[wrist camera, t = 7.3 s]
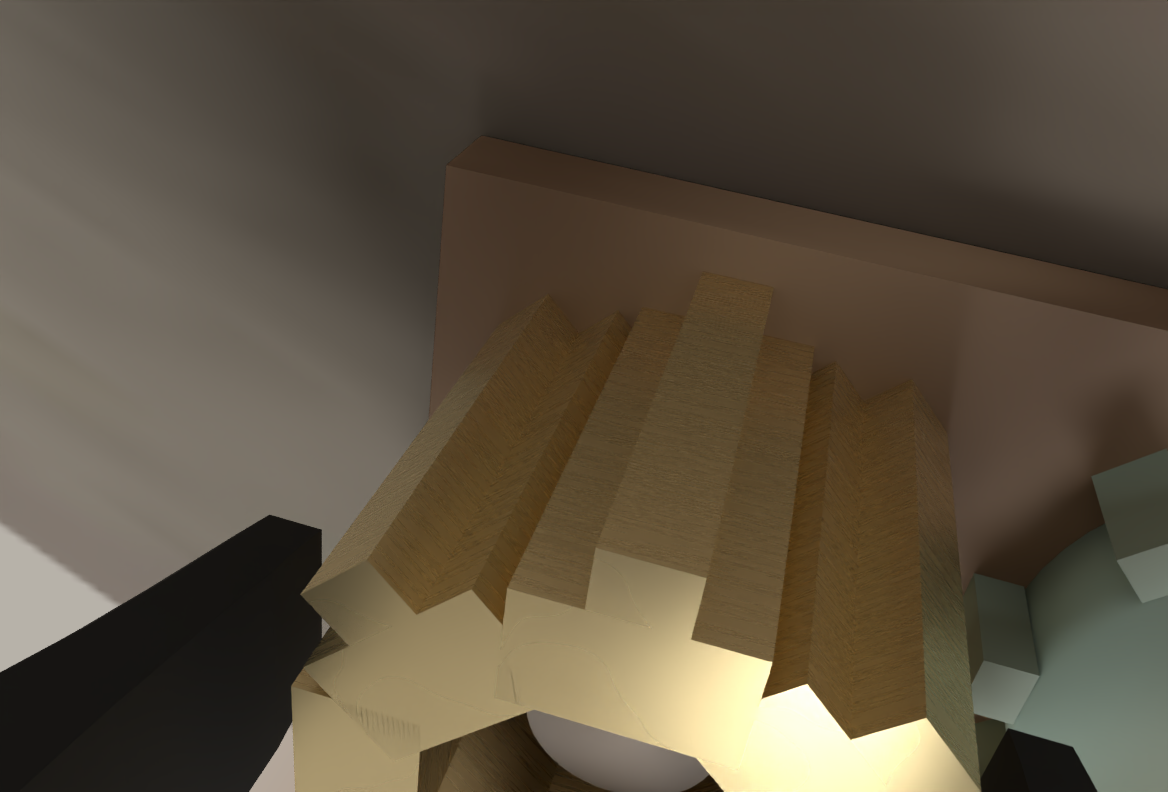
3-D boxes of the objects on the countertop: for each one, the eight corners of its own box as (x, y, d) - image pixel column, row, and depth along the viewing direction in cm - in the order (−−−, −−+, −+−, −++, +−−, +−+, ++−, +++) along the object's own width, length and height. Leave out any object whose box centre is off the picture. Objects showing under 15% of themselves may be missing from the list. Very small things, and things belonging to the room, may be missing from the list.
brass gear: (996, 336, 11) (1065, 674, 7) (831, 751, 14) (810, 1139, 10) (498, 225, 12) (281, 462, 7) (461, 643, 15) (301, 961, 11)
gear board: (1761, 422, 10) (2283, 796, 7) (1344, 873, 15) (1510, 1263, 11) (482, 136, 12) (294, 291, 9) (440, 606, 17) (304, 855, 13)
